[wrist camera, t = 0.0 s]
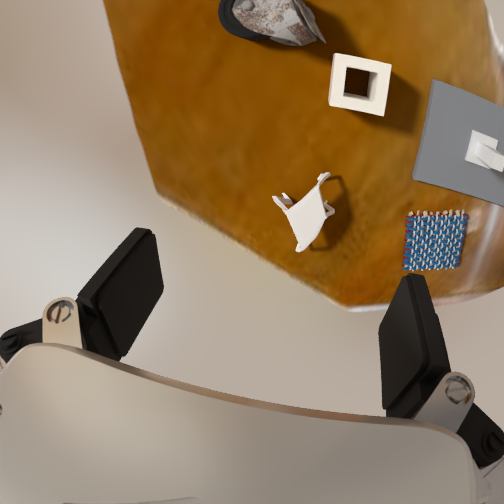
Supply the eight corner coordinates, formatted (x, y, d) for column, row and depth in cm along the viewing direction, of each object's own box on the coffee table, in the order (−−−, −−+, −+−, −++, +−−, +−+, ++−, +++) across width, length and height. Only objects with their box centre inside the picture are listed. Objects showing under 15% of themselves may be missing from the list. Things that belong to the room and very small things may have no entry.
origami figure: (271, 169, 41) (265, 183, 37) (333, 167, 39) (334, 181, 35) (281, 242, 48) (276, 261, 44) (335, 242, 46) (335, 261, 42)
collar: (333, 54, 30) (335, 52, 25) (381, 64, 29) (391, 64, 25) (328, 99, 34) (329, 105, 29) (374, 108, 33) (383, 116, 28)
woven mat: (456, 262, 43) (460, 270, 41) (400, 266, 46) (402, 274, 44) (466, 207, 37) (471, 213, 36) (404, 208, 40) (407, 215, 39)
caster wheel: (227, 7, 31) (292, -26, 25) (259, 73, 34) (331, 42, 28) (198, -5, 25) (271, -46, 20) (233, 68, 28) (317, 29, 23)
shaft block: (432, 79, 28) (451, 83, 23) (531, 122, 26) (555, 135, 21) (411, 176, 37) (424, 196, 32) (506, 204, 34) (525, 226, 29)
